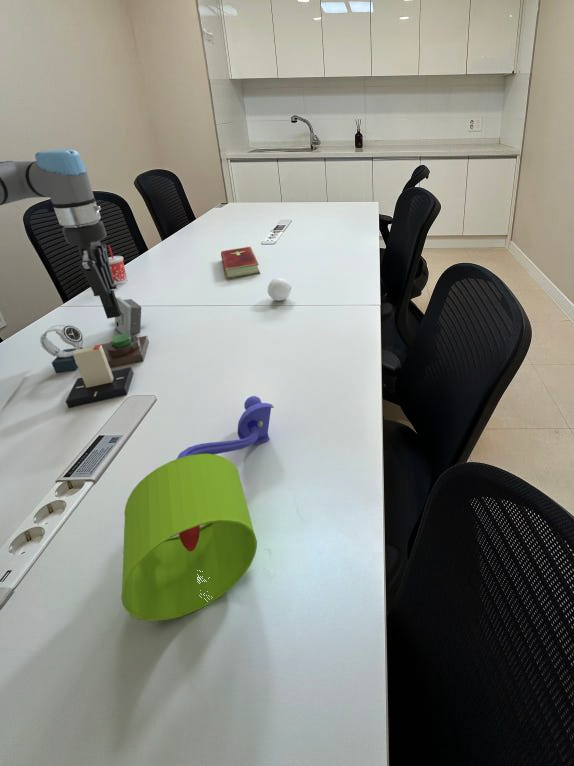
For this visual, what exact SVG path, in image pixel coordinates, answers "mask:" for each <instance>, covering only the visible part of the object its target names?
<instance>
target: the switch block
mask: <svg viewBox="0 0 574 766" xmlns="http://www.w3.org/2000/svg"><path fill="white" fill-rule="evenodd" d="M130 336H131V339H132V342H131V343H130V344H129V345H127V346H124V347H120V348H115V347H114V346H113V343H112V340H111V341H110V342H107V343H101V344H99V345H102V348H103V350H104V353H105V356H106V358H107V361H108V364H109V367H110V369H113V368H118V367H122V366H127V365H132V364H133V365H134V364H136V363H141V362H144V361H145V359H146V355H147V351H148V347H149V344H150V340H149V338H148V335H143V336H137V335H136V334H130ZM96 345H97V344H96ZM96 345H94V346H96Z"/></svg>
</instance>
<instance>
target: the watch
mask: <svg viewBox="0 0 574 766" xmlns="http://www.w3.org/2000/svg"><path fill="white" fill-rule="evenodd" d="M51 332H55V334H56V335H58V336H59V338H60V339H61V340H62V341H63V343H65V344H67V345H70V346H71V347H73V348H66V349H63V350H61V348H59V347H58V346H56V345H55V344H54V343H53V342H52V341H51V340H49V339H48V337H47V335H48V333H51ZM83 338H84V337H83V332H82V331H81V330H80V329H79V328H78V327H76V326H74V325H71V324H69V325H67V324H56V325H52V326H50V327H48V328H47V329H46V330H45V331H44V332H43V333H42V334H41V336H40V337H39V341H40V345H41V347H42V348H43V350H44V351H46V352H47V353H48V354H50V355H51V356H53V357H55V358H54V359H53V361H52V362H51V366H52V367H53V369H54V372H55V374H62V373H69V372H76V371H77V370H79V369H78V366H77V364H76V361H75V359H74V356H73V353H74V351H75V350H78V349H84V347H83V344H84V339H83Z"/></svg>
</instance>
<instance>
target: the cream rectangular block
mask: <svg viewBox="0 0 574 766" xmlns="http://www.w3.org/2000/svg"><path fill="white" fill-rule="evenodd" d="M73 356H74V359H75V361H76V364H77V366H78V369H77V370H78V371H79V373H80V376H81V377H82V378H83V381H84V383H85V386H86V388H88V387H93V386H97V385H102V384H106V383H111V382H112V381H113V379H114V377H113V375H112V372H111V371H112V370H111V369H112V368H110V367H109V364H108V361H107V358H106V356H105V353H104V350H103V348H102V345H100V344H96V346H95V345H94V346H90V347H83V349H78V350H75V351H74V353H73Z"/></svg>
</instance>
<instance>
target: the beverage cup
mask: <svg viewBox="0 0 574 766" xmlns="http://www.w3.org/2000/svg"><path fill="white" fill-rule="evenodd" d="M107 247H108V250H109V254H110V256H108V259H109V263H110V267H111V271H112V275H113V279H114V284H113V285H122V284H124V283H126V282H128V276H127V273H126V268H125V264H124V257H123V256H122V255H113V251H112V249H111V245H108V246H107Z"/></svg>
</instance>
